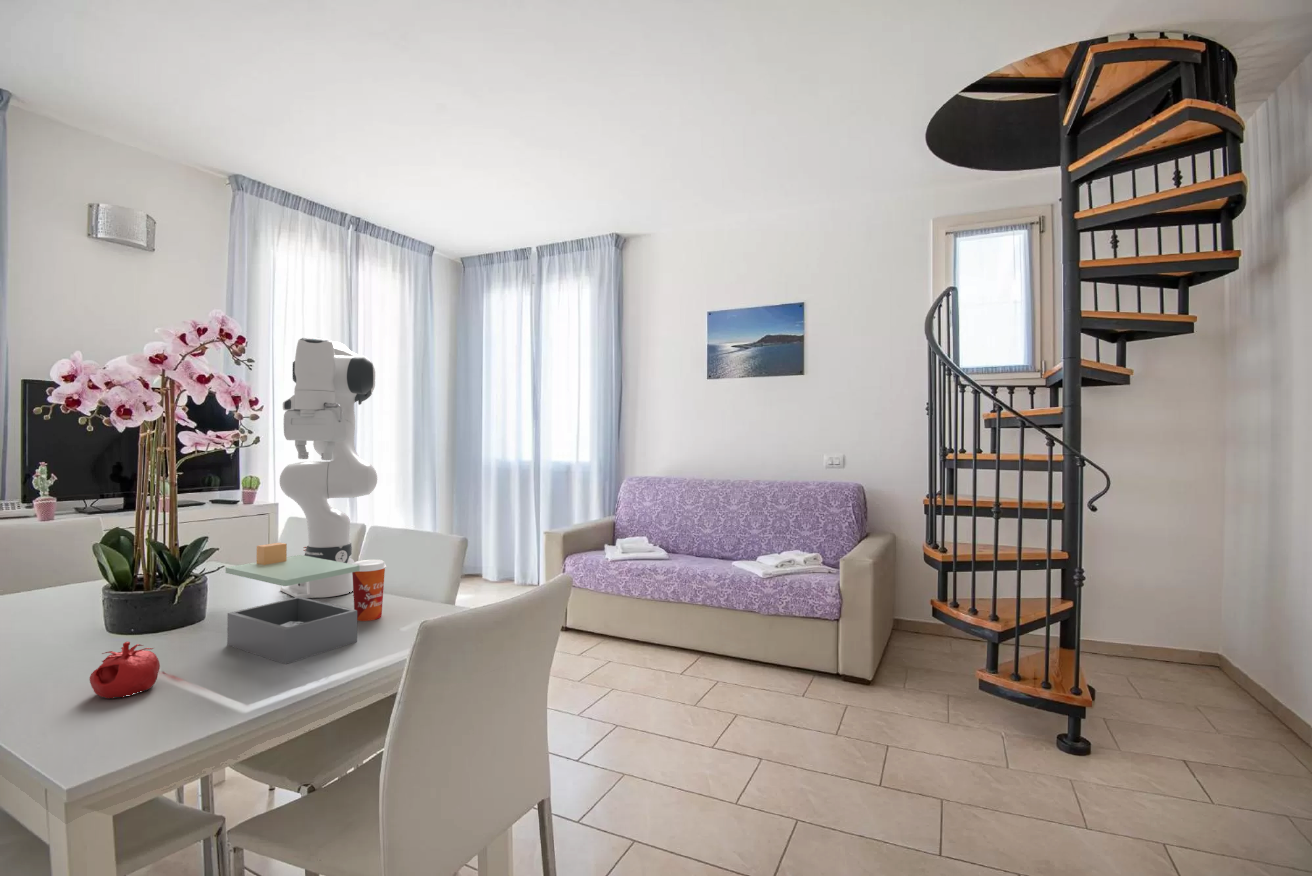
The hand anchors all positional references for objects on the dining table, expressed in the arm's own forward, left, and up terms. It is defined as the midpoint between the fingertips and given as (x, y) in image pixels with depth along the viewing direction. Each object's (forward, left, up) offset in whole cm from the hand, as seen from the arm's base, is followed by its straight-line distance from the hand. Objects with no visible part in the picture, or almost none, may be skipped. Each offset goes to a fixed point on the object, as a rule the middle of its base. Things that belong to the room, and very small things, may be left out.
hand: (314, 459), depth 153 cm
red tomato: (+7, -40, -41) cm, 58 cm away
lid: (+10, -11, -24) cm, 28 cm away
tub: (+10, -11, -41) cm, 44 cm away
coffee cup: (+7, +10, -41) cm, 43 cm away
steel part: (+6, -9, -40) cm, 42 cm away
